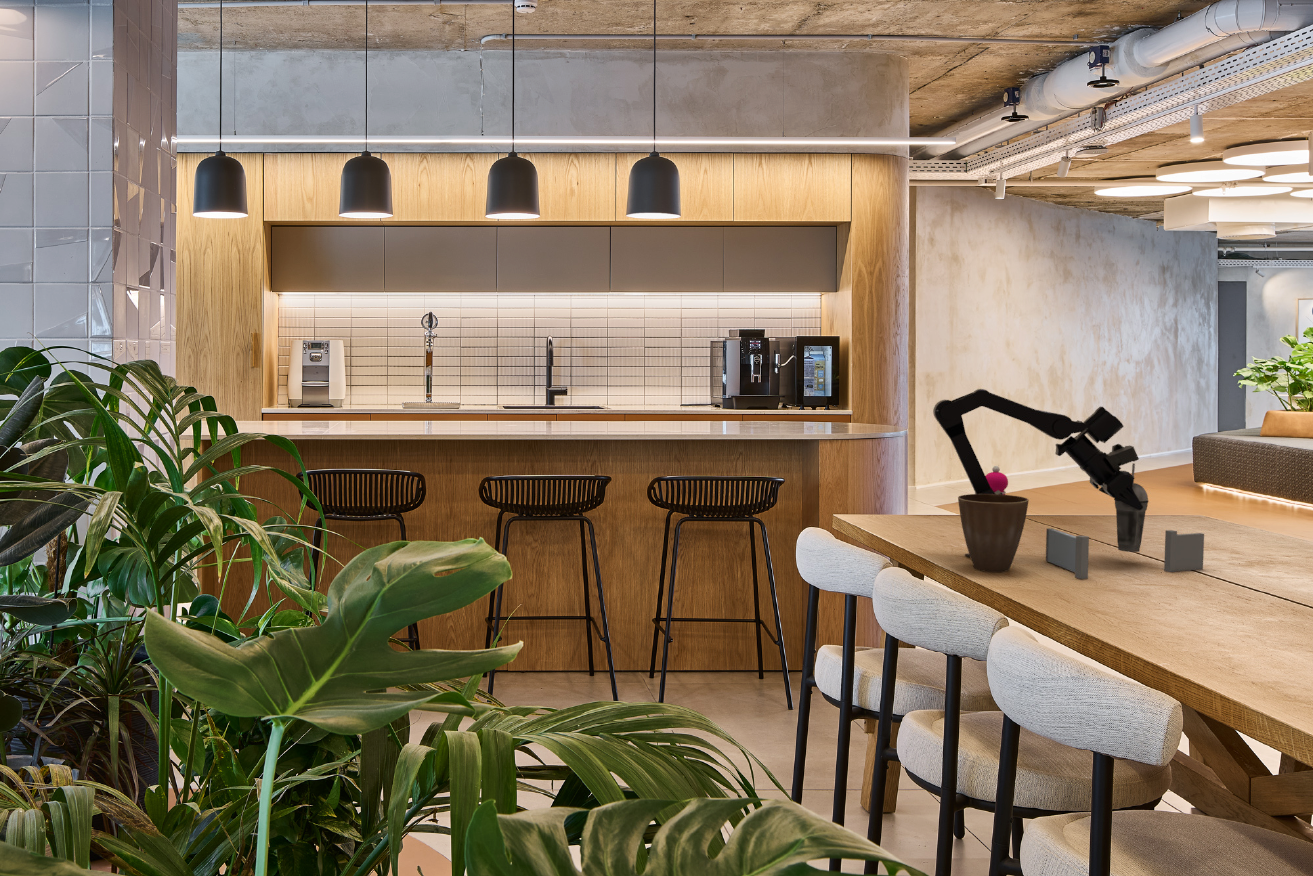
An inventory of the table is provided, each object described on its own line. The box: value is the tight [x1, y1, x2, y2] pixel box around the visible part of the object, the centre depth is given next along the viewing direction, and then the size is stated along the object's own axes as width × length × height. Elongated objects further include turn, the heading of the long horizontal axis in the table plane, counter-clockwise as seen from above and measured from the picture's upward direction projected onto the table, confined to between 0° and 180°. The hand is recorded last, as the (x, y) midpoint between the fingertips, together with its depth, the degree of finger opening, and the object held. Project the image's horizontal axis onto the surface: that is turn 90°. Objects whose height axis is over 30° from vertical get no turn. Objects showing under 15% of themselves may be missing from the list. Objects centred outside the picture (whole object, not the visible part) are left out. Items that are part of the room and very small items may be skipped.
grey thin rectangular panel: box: [1045, 527, 1077, 573], centre depth 226 cm, size 17×1×8 cm, turn 4°
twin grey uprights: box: [1074, 529, 1205, 580], centre depth 221 cm, size 34×2×9 cm, turn 109°
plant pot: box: [957, 493, 1029, 573], centre depth 226 cm, size 15×15×16 cm
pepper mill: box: [985, 465, 1009, 495], centre depth 259 cm, size 7×7×20 cm
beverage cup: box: [1113, 463, 1149, 553], centre depth 232 cm, size 7×7×20 cm
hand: (1137, 506), depth 232 cm, fingers closed on beverage cup, 7 cm apart
